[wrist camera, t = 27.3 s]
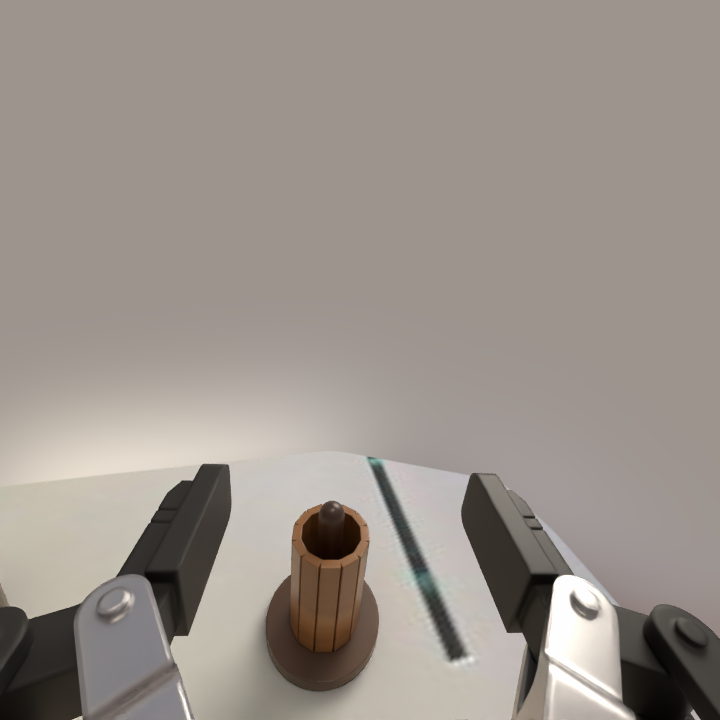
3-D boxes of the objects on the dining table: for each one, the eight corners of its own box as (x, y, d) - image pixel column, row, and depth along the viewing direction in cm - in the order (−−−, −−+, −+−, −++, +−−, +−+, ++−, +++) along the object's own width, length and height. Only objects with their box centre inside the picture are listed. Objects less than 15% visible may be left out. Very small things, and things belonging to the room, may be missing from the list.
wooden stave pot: (286, 653, 28) (287, 568, 24) (294, 581, 33) (297, 502, 30) (359, 652, 28) (372, 568, 25) (356, 581, 34) (366, 504, 30)
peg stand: (255, 693, 26) (250, 566, 21) (276, 569, 35) (276, 459, 30) (384, 689, 27) (409, 567, 22) (371, 570, 36) (388, 463, 31)
